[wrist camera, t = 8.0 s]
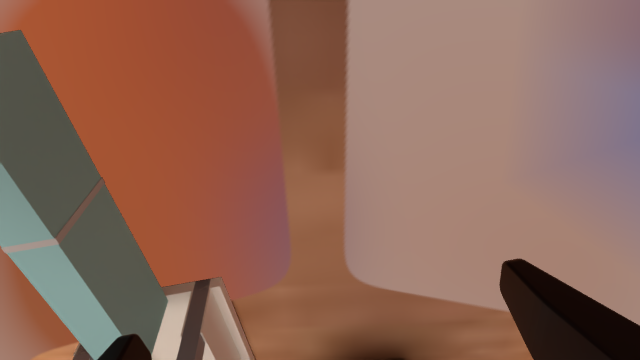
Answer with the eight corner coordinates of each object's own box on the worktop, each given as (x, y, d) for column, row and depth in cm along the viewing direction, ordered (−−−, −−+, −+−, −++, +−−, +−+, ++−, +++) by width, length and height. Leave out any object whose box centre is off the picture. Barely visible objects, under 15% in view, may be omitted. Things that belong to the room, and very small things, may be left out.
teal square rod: (169, 300, 23) (147, 370, 19) (135, 306, 23) (107, 377, 19) (21, 29, 14) (-71, 58, 10) (-32, 38, 14) (-146, 70, 10)
